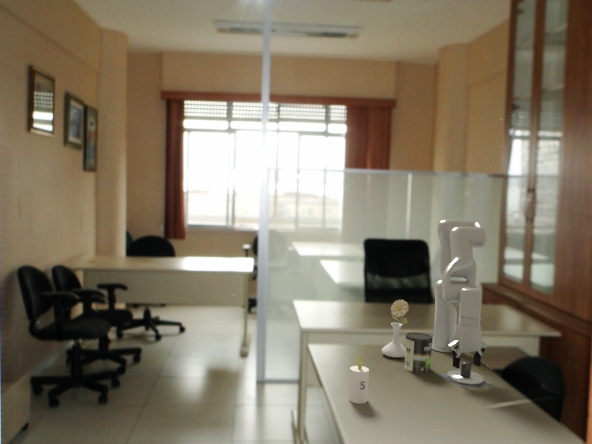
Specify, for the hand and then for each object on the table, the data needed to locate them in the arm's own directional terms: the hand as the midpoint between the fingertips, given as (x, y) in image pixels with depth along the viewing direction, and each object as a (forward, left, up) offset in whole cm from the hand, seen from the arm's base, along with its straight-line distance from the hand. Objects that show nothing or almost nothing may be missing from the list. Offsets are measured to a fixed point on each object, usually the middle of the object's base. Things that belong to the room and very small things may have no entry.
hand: (466, 366), depth 197 cm
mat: (0, 0, -6) cm, 6 cm away
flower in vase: (+9, -33, -6) cm, 35 cm away
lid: (0, 0, -5) cm, 5 cm away
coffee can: (+11, -15, -6) cm, 20 cm away
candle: (+48, +4, -6) cm, 48 cm away
